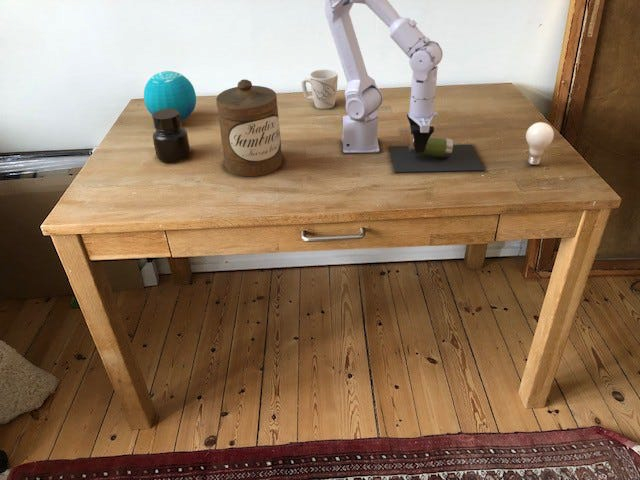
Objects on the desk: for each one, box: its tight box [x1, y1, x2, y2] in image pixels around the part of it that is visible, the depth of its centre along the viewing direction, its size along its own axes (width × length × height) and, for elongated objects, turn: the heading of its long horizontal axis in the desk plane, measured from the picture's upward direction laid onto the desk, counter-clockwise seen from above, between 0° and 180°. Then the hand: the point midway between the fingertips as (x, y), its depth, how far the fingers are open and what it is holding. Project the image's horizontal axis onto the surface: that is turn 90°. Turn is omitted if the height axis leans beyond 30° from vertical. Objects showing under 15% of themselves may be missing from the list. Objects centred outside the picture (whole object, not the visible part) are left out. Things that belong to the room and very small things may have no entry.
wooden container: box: [215, 78, 283, 177], centre depth 136 cm, size 15×15×22 cm
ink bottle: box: [151, 109, 192, 164], centre depth 143 cm, size 10×9×12 cm
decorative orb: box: [143, 70, 197, 123], centre depth 161 cm, size 15×15×15 cm
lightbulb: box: [525, 121, 555, 166], centre depth 134 cm, size 6×6×11 cm
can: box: [407, 134, 454, 158], centre depth 139 cm, size 5×5×10 cm
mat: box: [389, 144, 485, 174], centre depth 141 cm, size 22×14×1 cm, turn 90°
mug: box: [301, 69, 339, 110], centre depth 170 cm, size 11×8×10 cm
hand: (417, 147), depth 139 cm, fingers closed on can, 5 cm apart
